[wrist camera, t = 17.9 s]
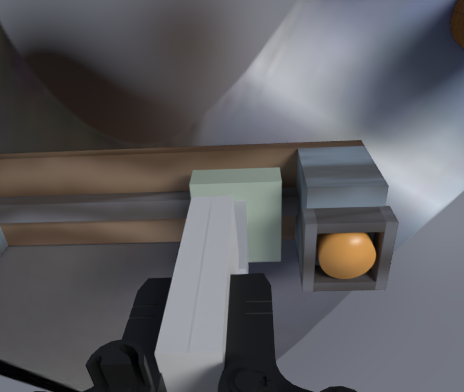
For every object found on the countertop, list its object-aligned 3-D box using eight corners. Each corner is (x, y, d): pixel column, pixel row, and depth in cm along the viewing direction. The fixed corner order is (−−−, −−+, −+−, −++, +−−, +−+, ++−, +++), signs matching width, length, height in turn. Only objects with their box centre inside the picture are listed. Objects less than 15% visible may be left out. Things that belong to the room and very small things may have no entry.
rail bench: (-79, 156, 47) (-176, 217, 36) (364, 140, 44) (402, 201, 33) (-38, 239, 53) (-110, 312, 42) (353, 230, 50) (382, 305, 39)
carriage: (195, 161, 44) (172, 250, 31) (278, 158, 43) (291, 247, 30) (203, 235, 49) (187, 338, 36) (278, 234, 48) (289, 337, 35)
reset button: (317, 222, 37) (321, 236, 35) (372, 220, 37) (379, 235, 35) (314, 264, 40) (318, 279, 38) (366, 263, 40) (372, 278, 38)
